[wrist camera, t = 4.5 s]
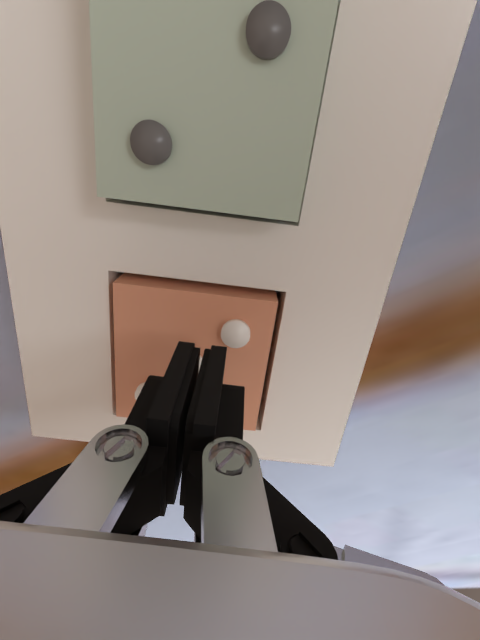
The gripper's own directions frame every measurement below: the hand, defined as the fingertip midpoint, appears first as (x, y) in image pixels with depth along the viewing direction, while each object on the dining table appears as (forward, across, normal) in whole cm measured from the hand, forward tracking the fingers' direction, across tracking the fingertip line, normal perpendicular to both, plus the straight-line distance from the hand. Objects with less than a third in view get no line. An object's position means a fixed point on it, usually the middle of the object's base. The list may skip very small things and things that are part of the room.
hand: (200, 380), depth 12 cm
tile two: (+3, +1, -9) cm, 9 cm away
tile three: (+4, +1, 0) cm, 4 cm away
